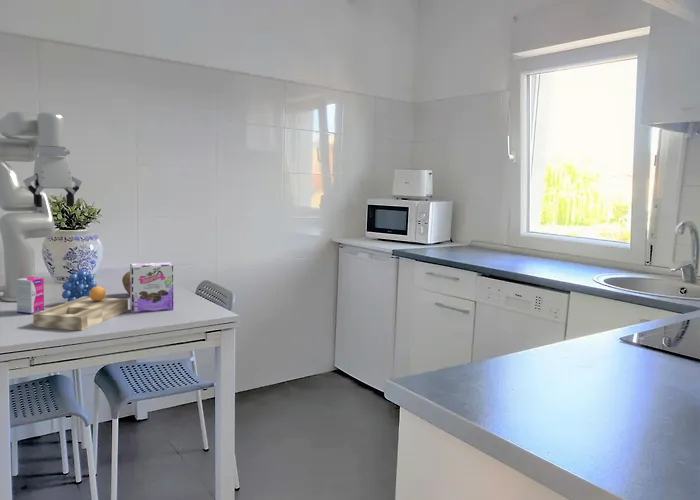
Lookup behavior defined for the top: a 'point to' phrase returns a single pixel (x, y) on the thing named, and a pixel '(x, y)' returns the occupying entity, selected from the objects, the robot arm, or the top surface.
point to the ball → (97, 293)
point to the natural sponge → (126, 281)
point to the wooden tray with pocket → (80, 313)
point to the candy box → (151, 287)
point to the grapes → (78, 286)
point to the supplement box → (30, 295)
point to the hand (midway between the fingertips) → (54, 206)
